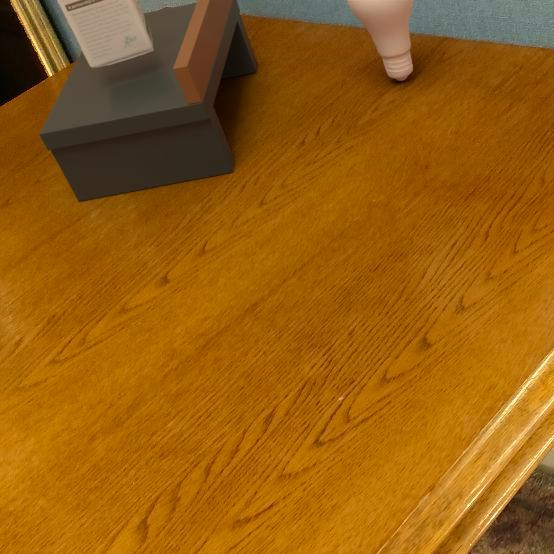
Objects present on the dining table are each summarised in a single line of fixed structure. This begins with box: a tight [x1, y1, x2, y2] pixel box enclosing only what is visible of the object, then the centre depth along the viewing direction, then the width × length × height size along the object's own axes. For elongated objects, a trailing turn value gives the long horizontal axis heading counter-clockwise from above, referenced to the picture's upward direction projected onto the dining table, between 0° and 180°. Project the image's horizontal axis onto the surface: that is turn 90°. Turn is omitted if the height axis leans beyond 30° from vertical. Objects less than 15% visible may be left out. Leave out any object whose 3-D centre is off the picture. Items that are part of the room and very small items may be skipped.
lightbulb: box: [346, 0, 415, 82], centre depth 90 cm, size 6×6×11 cm
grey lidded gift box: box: [38, 0, 259, 202], centre depth 91 cm, size 14×23×10 cm, turn 5°
